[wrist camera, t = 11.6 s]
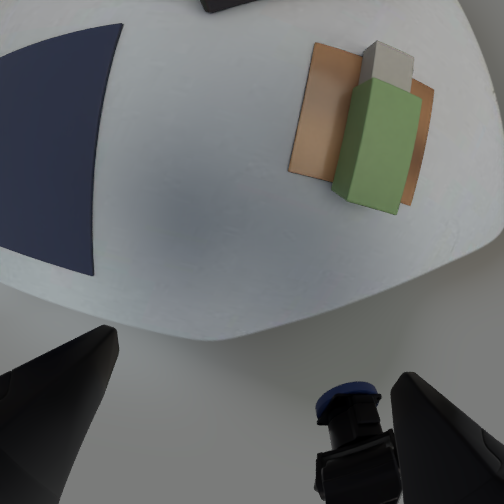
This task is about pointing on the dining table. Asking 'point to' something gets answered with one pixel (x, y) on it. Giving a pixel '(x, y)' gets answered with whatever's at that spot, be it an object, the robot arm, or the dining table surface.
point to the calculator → (221, 4)
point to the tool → (379, 131)
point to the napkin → (52, 144)
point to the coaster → (342, 117)
